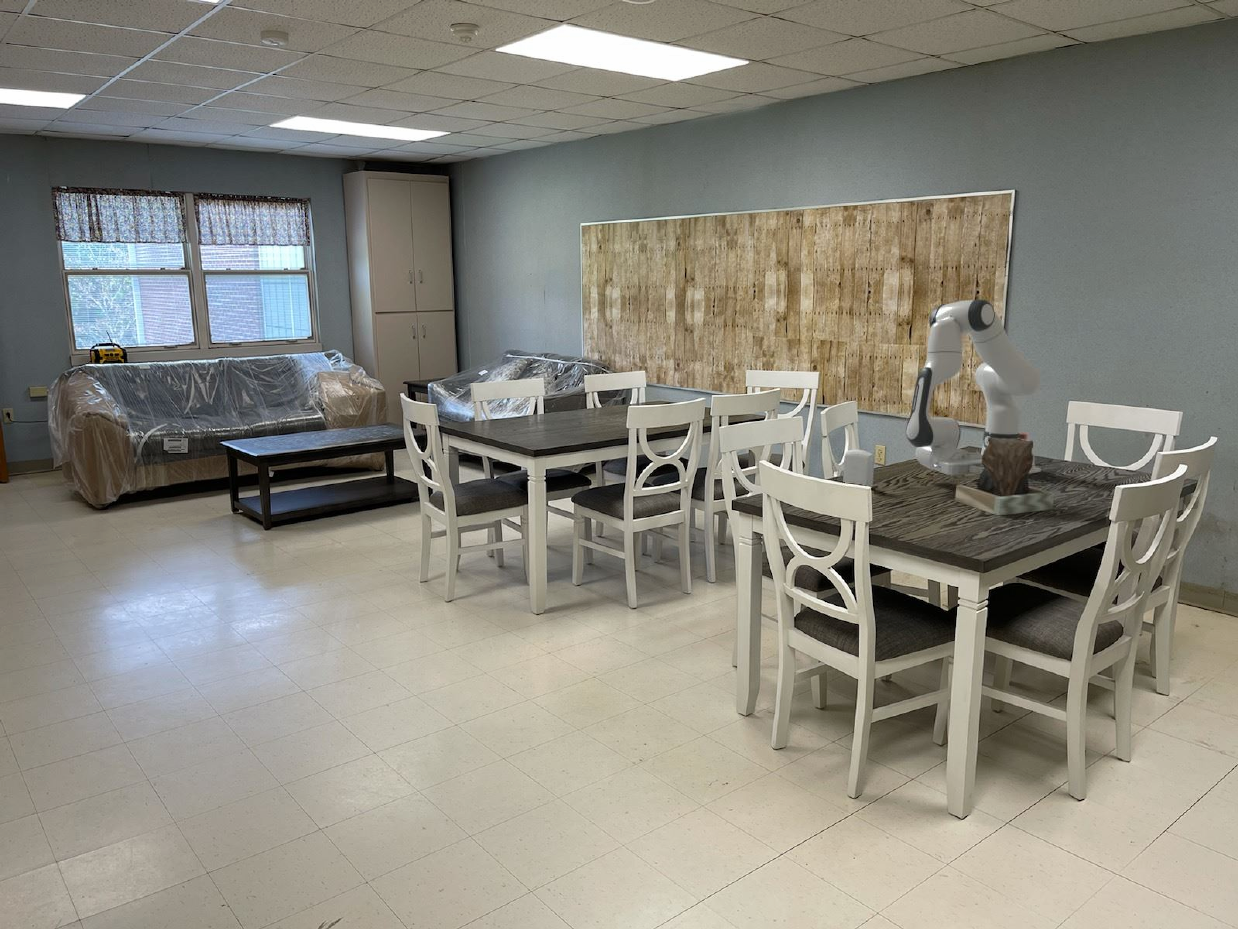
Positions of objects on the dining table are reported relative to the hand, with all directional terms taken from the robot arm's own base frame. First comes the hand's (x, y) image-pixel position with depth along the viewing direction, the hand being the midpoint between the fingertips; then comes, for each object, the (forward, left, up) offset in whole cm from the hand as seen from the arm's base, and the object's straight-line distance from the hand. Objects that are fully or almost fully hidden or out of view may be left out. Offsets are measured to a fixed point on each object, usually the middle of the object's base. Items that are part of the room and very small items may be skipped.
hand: (986, 471), depth 280 cm
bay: (0, +7, -9) cm, 11 cm away
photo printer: (+28, -27, -9) cm, 40 cm away
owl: (-1, +6, -9) cm, 11 cm away
